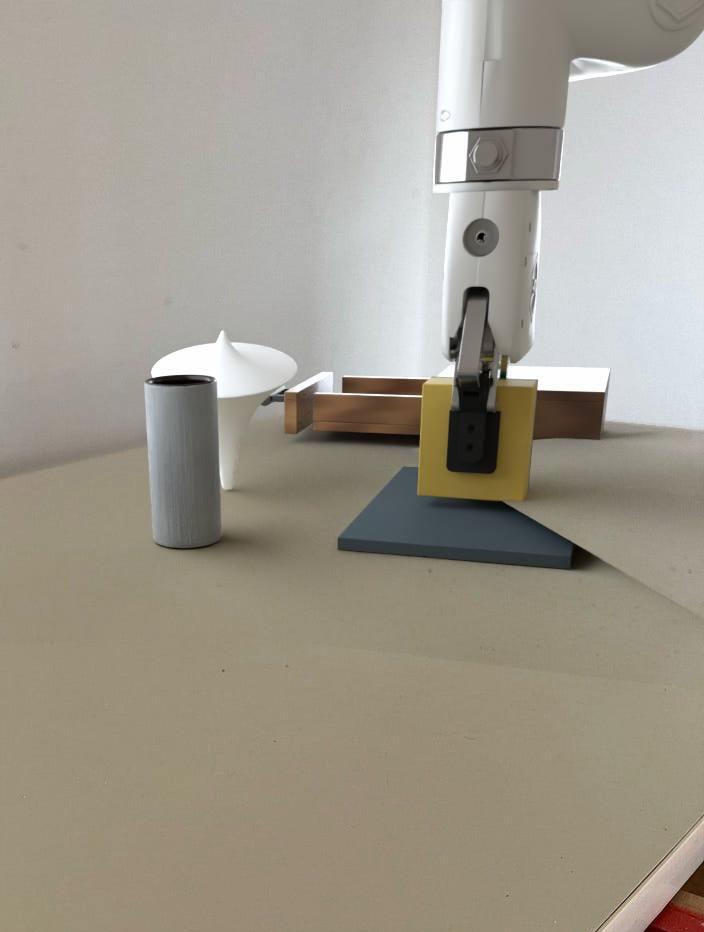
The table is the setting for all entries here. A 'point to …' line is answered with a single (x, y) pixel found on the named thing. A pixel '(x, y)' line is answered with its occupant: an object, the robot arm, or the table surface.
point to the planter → (183, 459)
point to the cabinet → (565, 400)
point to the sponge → (512, 447)
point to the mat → (452, 528)
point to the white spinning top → (232, 386)
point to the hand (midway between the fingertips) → (475, 461)
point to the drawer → (353, 404)
